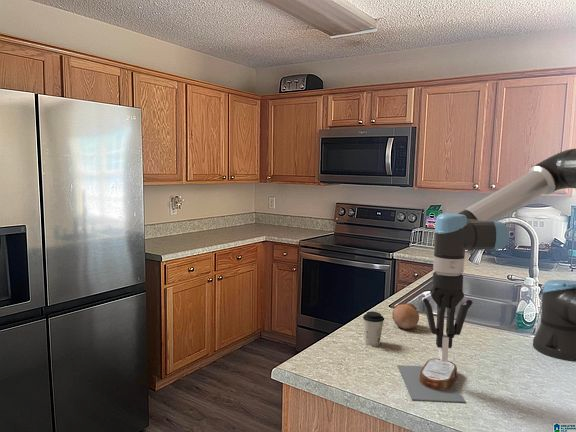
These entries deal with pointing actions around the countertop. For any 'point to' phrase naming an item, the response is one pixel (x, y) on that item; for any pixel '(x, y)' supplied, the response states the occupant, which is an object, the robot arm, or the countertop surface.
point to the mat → (425, 393)
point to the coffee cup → (373, 327)
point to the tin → (438, 374)
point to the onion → (405, 316)
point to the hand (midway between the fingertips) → (443, 358)
